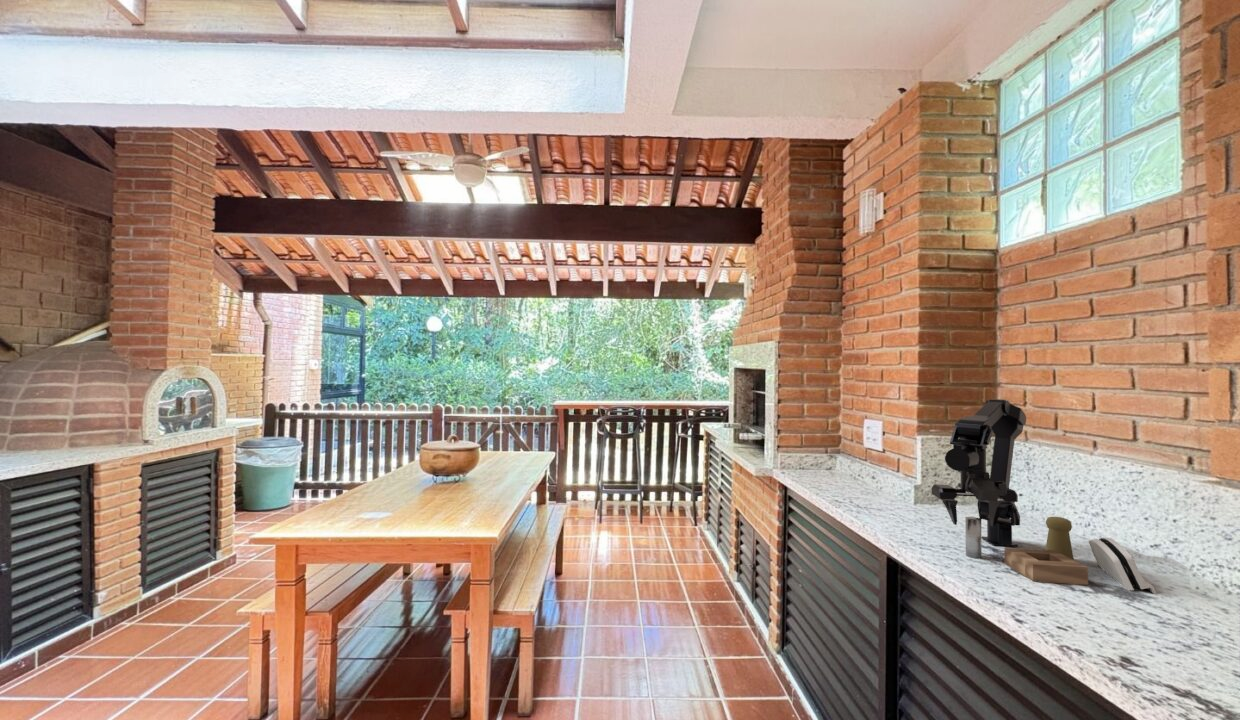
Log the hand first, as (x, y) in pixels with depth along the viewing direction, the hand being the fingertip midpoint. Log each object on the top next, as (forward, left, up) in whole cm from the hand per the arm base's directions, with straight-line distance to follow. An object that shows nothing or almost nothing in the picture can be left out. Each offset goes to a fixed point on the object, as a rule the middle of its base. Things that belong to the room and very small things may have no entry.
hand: (973, 525), depth 138 cm
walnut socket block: (+10, +11, -8) cm, 17 cm away
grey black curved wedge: (+10, +27, -9) cm, 30 cm away
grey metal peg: (0, 0, -8) cm, 8 cm away
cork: (-1, +21, -8) cm, 23 cm away
